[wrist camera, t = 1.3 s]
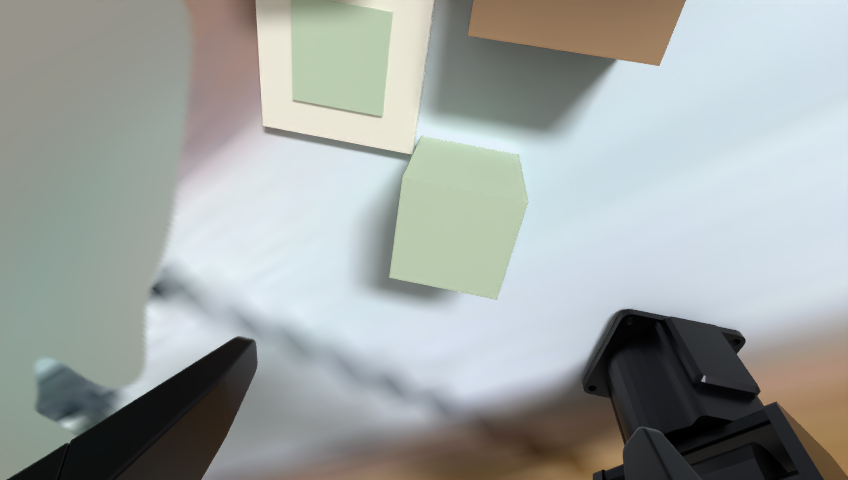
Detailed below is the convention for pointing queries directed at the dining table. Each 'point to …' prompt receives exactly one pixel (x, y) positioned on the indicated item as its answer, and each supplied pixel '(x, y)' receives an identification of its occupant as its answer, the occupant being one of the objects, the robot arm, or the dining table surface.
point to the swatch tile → (344, 68)
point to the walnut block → (581, 25)
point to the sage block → (458, 217)
